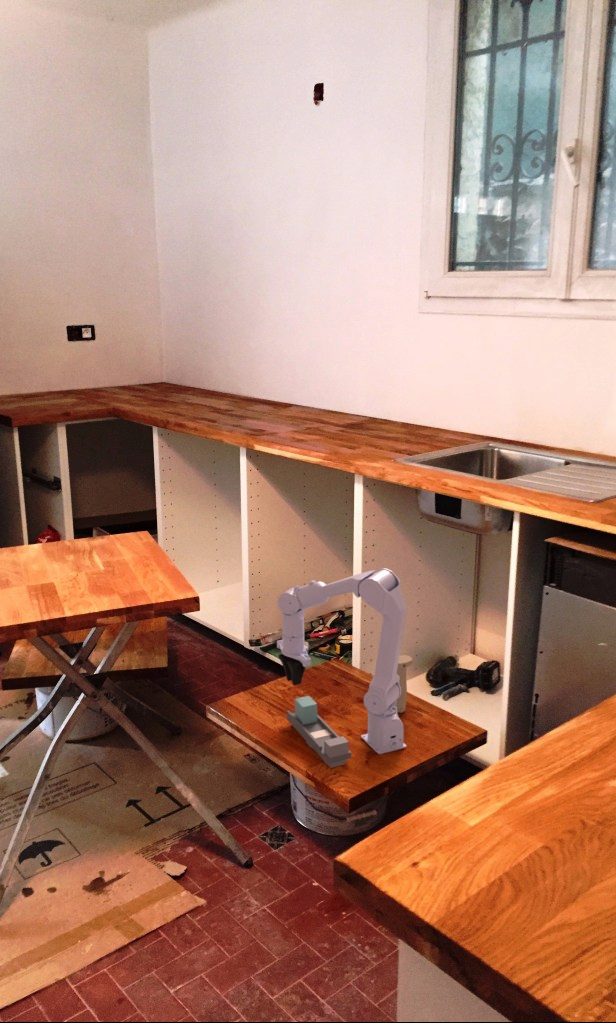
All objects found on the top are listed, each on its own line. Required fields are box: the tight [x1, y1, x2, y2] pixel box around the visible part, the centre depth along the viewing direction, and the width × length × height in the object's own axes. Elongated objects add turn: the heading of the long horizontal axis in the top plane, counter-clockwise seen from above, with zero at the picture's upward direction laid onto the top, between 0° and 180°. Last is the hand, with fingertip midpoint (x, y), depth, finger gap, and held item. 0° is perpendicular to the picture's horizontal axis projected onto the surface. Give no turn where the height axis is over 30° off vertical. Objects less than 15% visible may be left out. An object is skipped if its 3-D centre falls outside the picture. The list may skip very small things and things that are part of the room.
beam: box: [286, 710, 352, 769], centre depth 212 cm, size 24×6×6 cm, turn 25°
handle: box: [396, 654, 413, 714], centre depth 227 cm, size 5×6×15 cm
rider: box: [294, 695, 318, 725], centre depth 218 cm, size 5×4×5 cm
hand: (294, 682), depth 223 cm, fingers closed
